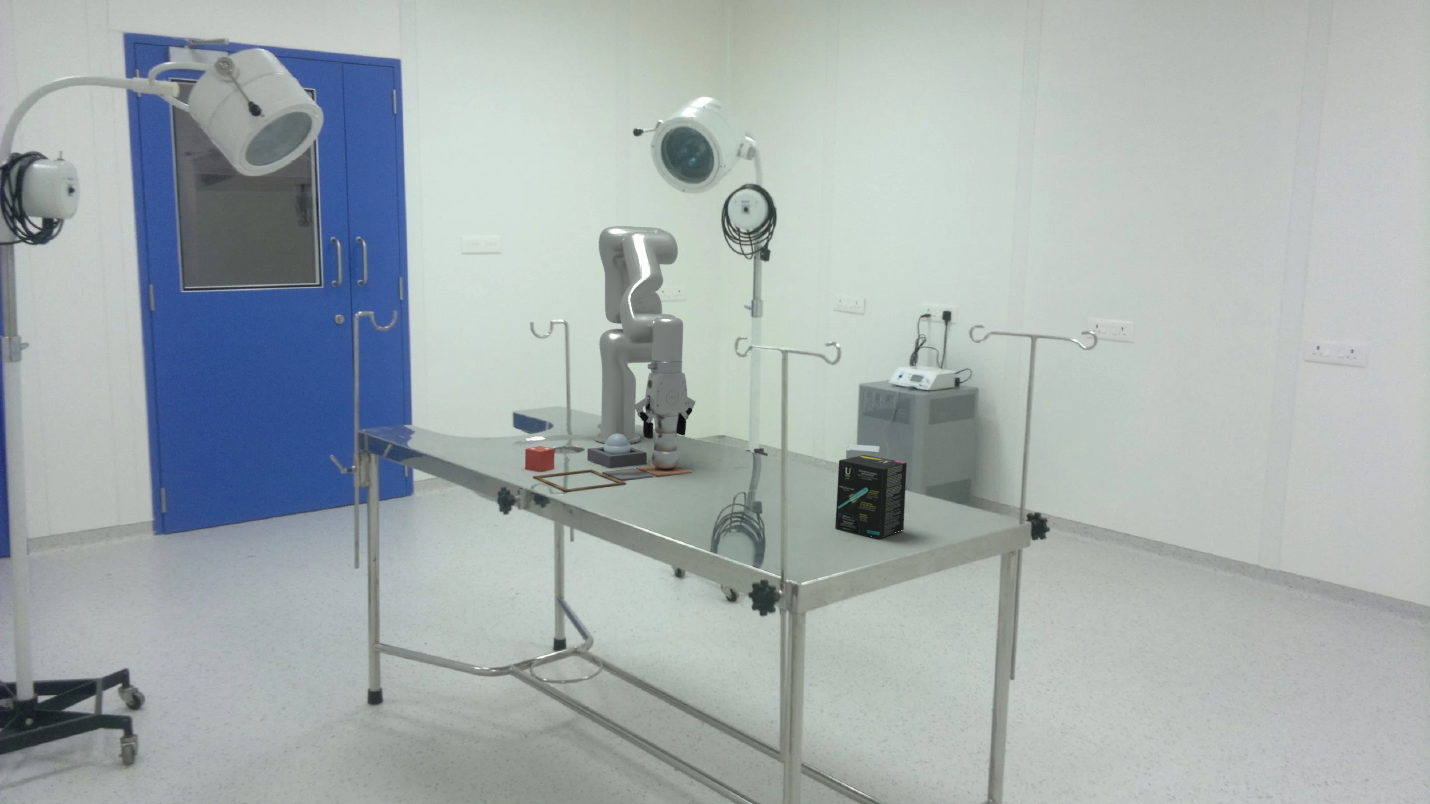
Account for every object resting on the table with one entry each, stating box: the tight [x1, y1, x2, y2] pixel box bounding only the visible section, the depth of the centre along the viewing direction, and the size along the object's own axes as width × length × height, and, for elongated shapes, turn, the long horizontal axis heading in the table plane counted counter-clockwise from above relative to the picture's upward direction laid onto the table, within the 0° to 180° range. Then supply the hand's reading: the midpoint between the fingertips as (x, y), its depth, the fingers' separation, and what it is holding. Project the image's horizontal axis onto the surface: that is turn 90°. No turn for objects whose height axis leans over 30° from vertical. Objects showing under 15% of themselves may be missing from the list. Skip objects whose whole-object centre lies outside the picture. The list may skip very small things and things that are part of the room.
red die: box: [524, 445, 555, 473], centre depth 262 cm, size 5×5×5 cm
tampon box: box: [834, 455, 907, 539], centre depth 217 cm, size 11×9×15 cm
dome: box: [603, 434, 632, 455], centre depth 273 cm, size 7×7×6 cm
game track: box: [532, 464, 692, 493], centre depth 257 cm, size 16×37×1 cm, turn 127°
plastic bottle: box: [651, 411, 680, 469], centre depth 264 cm, size 6×7×20 cm
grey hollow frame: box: [586, 446, 648, 469], centre depth 273 cm, size 11×11×3 cm
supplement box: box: [845, 443, 881, 459], centre depth 240 cm, size 7×7×13 cm
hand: (664, 436), depth 264 cm, fingers open, 9 cm apart
